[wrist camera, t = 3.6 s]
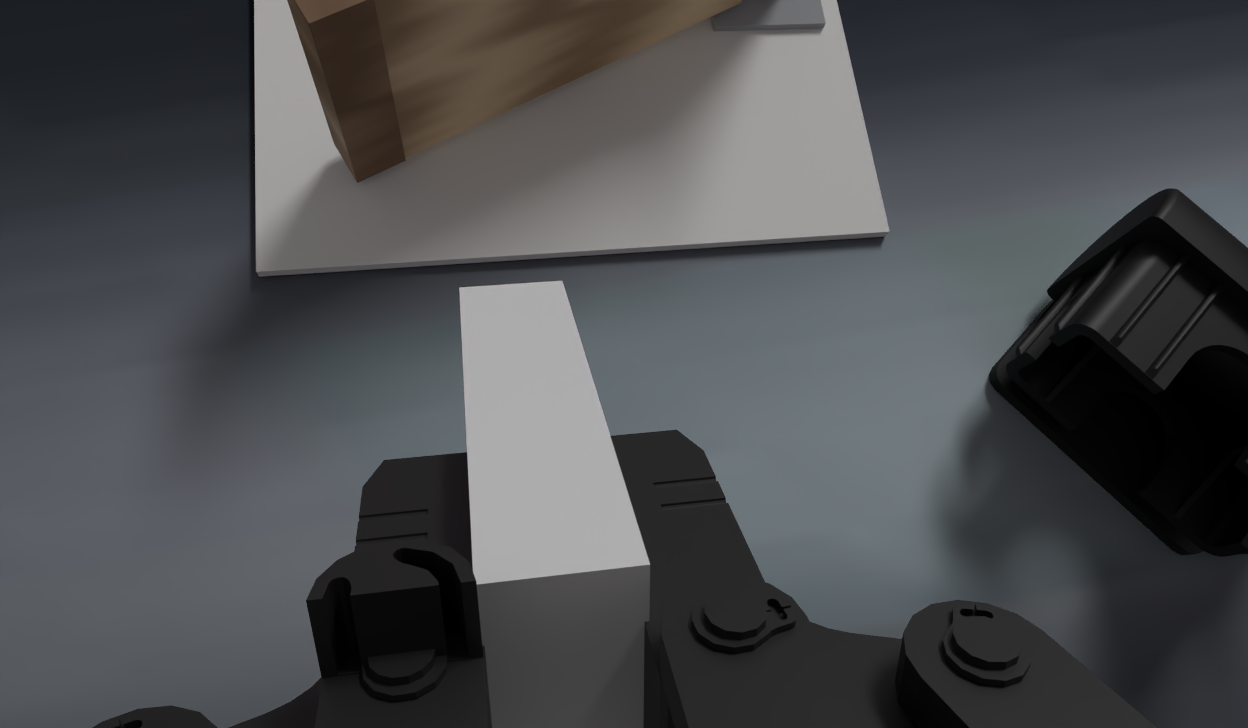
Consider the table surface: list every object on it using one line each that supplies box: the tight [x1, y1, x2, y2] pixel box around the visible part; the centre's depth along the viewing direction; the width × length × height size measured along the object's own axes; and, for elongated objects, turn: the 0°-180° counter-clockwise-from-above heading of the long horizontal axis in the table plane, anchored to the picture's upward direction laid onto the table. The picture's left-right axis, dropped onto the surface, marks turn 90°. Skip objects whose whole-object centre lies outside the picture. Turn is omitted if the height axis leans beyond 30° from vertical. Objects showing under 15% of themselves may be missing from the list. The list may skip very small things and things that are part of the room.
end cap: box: [989, 189, 1248, 556], centre depth 30 cm, size 10×7×7 cm
